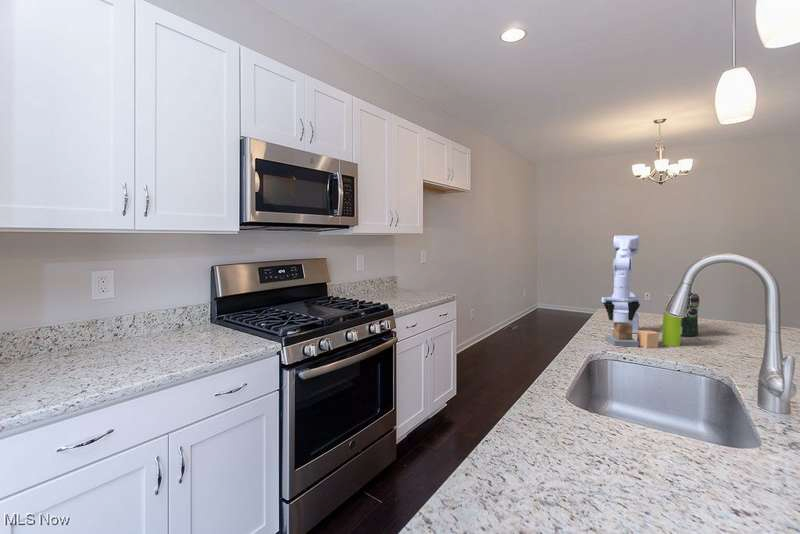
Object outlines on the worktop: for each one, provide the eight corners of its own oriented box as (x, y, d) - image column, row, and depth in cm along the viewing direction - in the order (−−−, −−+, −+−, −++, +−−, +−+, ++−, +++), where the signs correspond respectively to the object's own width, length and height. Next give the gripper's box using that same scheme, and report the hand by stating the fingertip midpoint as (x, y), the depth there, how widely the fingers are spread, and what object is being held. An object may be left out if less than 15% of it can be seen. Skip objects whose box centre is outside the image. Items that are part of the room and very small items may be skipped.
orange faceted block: (648, 344, 156) (648, 329, 156) (657, 347, 151) (658, 332, 151) (637, 344, 155) (637, 330, 155) (646, 348, 150) (647, 333, 150)
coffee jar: (685, 331, 175) (687, 291, 173) (701, 336, 167) (704, 294, 166) (666, 332, 173) (668, 292, 172) (682, 337, 165) (684, 294, 164)
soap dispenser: (681, 343, 156) (683, 295, 155) (678, 347, 151) (681, 297, 150) (663, 340, 160) (666, 293, 159) (660, 344, 155) (663, 295, 154)
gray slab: (627, 342, 160) (627, 335, 160) (638, 349, 151) (638, 341, 151) (604, 342, 161) (605, 335, 161) (614, 348, 152) (614, 341, 152)
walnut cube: (625, 336, 158) (626, 322, 158) (631, 339, 153) (632, 325, 153) (613, 336, 159) (613, 322, 158) (618, 339, 154) (619, 324, 154)
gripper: (607, 288, 152) (605, 321, 153) (646, 288, 150) (644, 322, 151) (599, 285, 159) (598, 318, 160) (637, 286, 157) (635, 318, 158)
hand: (620, 319), depth 156 cm, fingers open, 7 cm apart
